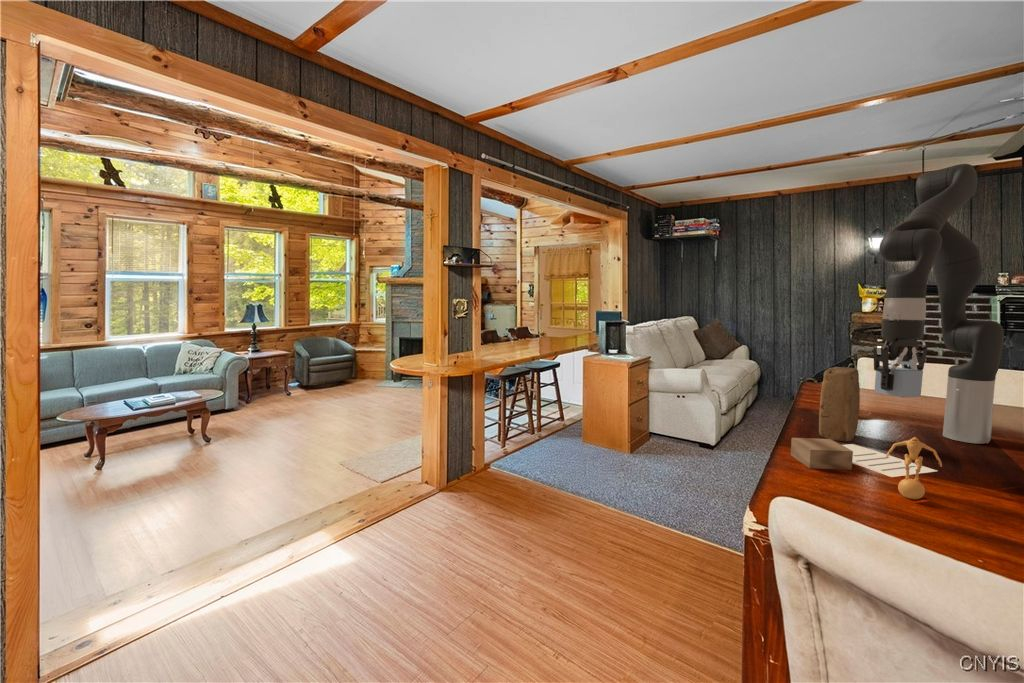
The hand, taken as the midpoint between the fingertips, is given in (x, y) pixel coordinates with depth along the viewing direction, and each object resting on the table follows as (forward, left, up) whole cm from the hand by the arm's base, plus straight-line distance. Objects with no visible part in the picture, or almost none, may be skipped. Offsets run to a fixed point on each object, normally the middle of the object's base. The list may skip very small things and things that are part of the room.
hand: (896, 389), depth 107 cm
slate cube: (0, 0, -1) cm, 1 cm away
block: (-7, -19, -18) cm, 27 cm away
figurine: (+15, +15, -18) cm, 28 cm away
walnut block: (+16, -5, -18) cm, 25 cm away
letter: (+2, -3, -18) cm, 19 cm away
